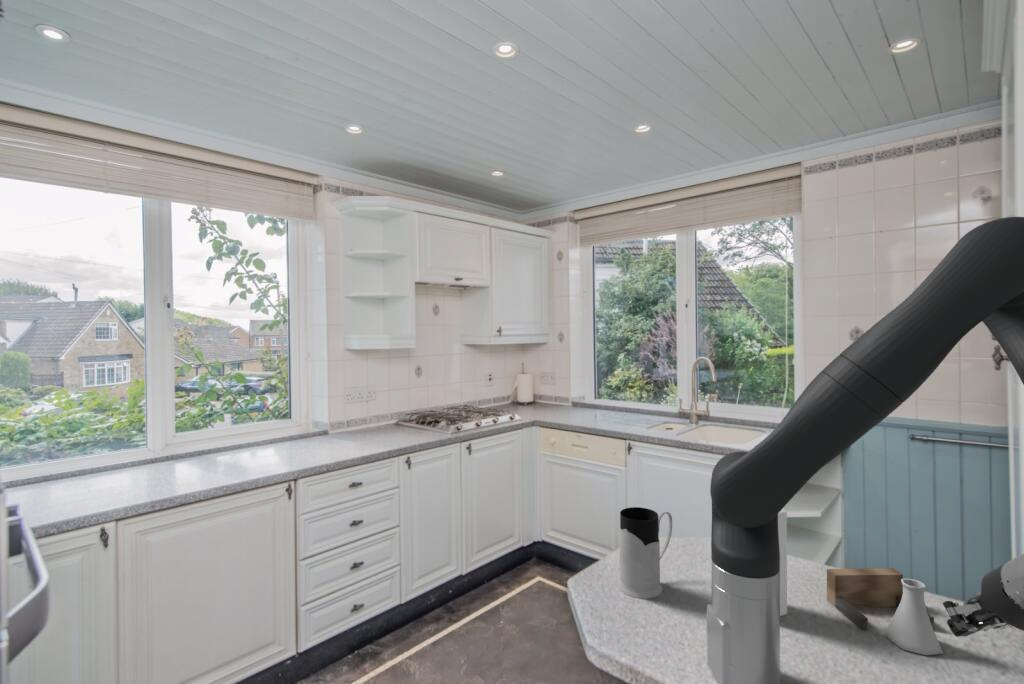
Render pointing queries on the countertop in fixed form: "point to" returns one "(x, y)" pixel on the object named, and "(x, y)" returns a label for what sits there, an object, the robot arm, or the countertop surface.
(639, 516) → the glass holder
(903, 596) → the flask
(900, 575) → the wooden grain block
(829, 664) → the countertop surface
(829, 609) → the countertop surface
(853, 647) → the countertop surface
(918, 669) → the countertop surface
